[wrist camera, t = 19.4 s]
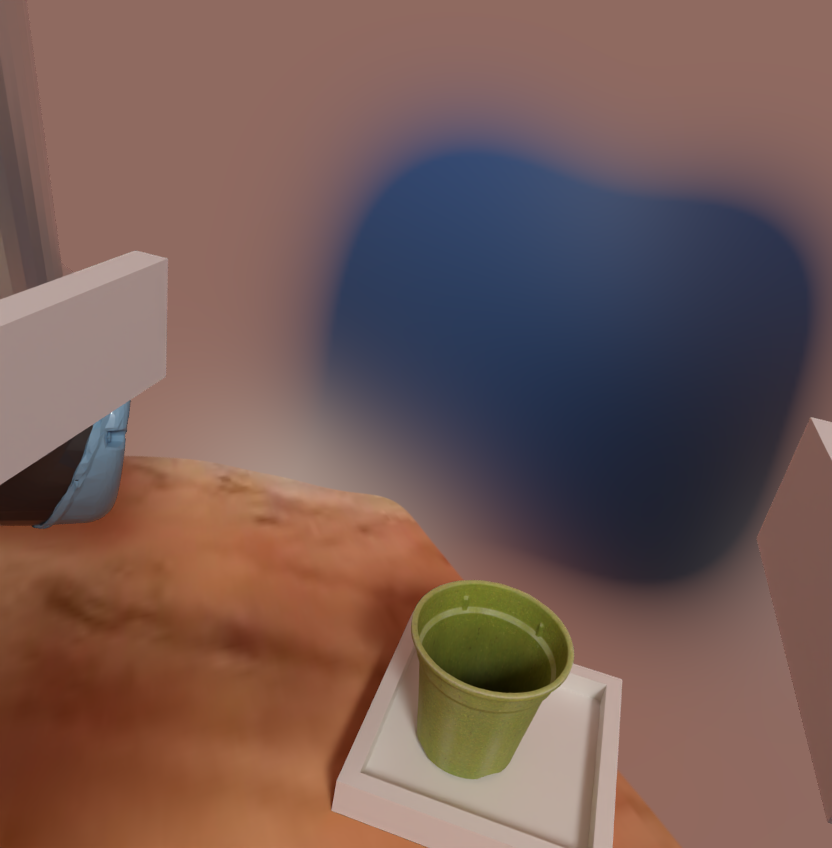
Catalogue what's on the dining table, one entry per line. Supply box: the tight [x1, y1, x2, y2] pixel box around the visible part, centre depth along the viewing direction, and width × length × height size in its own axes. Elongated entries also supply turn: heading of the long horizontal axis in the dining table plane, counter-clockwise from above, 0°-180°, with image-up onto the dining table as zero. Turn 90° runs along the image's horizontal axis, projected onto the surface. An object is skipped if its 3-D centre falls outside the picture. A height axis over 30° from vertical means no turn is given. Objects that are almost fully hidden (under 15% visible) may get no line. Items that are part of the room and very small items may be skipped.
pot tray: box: [331, 611, 622, 848], centre depth 48 cm, size 15×15×2 cm
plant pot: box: [411, 580, 574, 779], centre depth 46 cm, size 9×9×9 cm
